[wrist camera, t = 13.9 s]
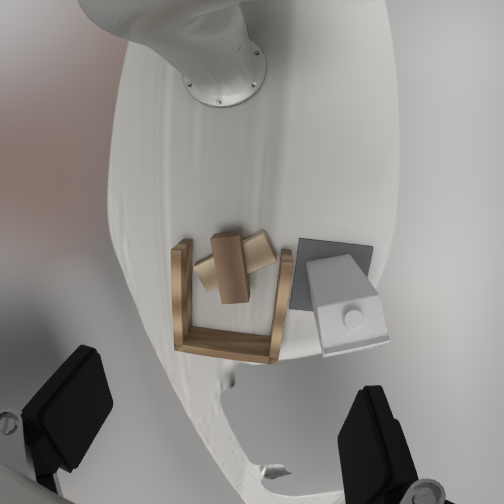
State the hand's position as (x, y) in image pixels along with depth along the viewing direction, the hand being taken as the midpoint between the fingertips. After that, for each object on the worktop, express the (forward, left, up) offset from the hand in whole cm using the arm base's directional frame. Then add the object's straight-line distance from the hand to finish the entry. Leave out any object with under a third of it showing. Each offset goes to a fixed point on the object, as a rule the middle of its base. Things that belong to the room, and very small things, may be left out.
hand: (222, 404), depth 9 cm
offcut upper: (+8, -4, -34) cm, 35 cm away
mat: (+9, +12, -36) cm, 39 cm away
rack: (+14, -4, -36) cm, 39 cm away
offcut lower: (+8, -4, -37) cm, 38 cm away
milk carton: (+9, +11, -36) cm, 39 cm away
